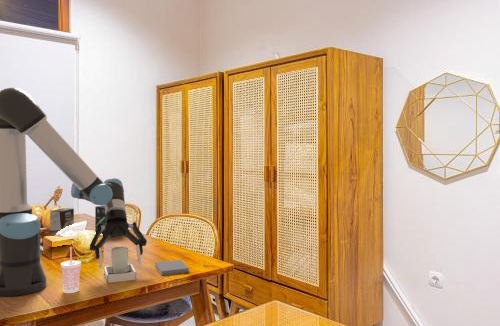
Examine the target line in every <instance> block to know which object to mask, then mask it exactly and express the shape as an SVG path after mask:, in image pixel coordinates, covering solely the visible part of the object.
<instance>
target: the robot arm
mask: <svg viewBox="0 0 500 326" xmlns="http://www.w3.org/2000/svg"><path fill="white" fill-rule="evenodd" d="M47 117H48V116H47V114H46V113H45V112H44V111H43V109H41V107H40V106H39V105H38V103H36V101H35V100H34V99H33V97H32V96H31V95H30V94H29V93H28V92H26V91H24V90H23V89H21V88H17V87H8V88H4V89H2V90H0V297H17V296H18V297H20V296H24V295H30V294H34V293H36V292H39V291H42V290H43V289H45V287H47V277H46V274H45V271H44V268H43V265H42V264H41V227H42V226H41V222H40V218H39V217H38V216H37V215H35V214H33V206H31V205H30V204H29V203H28V191H27V190H28V189H27V187H28V185H27V183H28V182H27V151H26V150H27V149H26V148H27V146H26V144H27V143H26V136H28V138H29V139H30V140H31V141H32V142H33V143H34V144H35V145H36V146H37V147H38V148H39V149H40V150H41V151H42V153H44V155H46V156H47V158H48V159H50V160H51V161H52V162H53V164H54V165H55V166H56V167H57V168H58V169H59V170H60V171H61V172H62V173H63V174H64V175H65V176H66V177H67V178H68V179H69V181H70V182H71V183H72V184H71V187H70V189H71V190H70V195H71V197H72V198H73V199H78V200H85V201H87V202H90V203H92V204H93V205H96V206H103V205H105V214H106V225H105V226H101V224H98V228H97V232H96V234H95V233H94V235H93V238H92V240H91V242H90V244H89V250H90V251H94V253H95V259H96V260H98V262H99V263H98V265H99V269H103V254H102V252H103V251H102V247H103V246H104V245H105V244H106V242H107V241H108V240H109V239H110V238H111V236H112V237H122V236H124V237H125V238H127V239H128V240H129V241H130V242H132V244H134V245H135V246H136V248H135V249H136V251H135V252H136V257H137V265H141V262H142V258H141V257H142V256H141V255H143V253H144V251H143V247H145V246H146V245H147V242H148V241H147V239H146V237H145V236H144V235H143V233H142V232H141V230H140V229H139V227H138V225H137V222H135V221H134V222H132V223H128V218H127V209H126V202H125V190H124V185H123V182H122V181H121V179H119V178H115V177H113V178H107V179H105V181H104V182H103V180H102V179H100V177H99V176H97V174H96V173H95V172H94V171H93V170H92V169H91V167H89V165H88V164H87V163H86V161H84V159H82V158H81V156H80V155H79V154H78V153H77V152H76V151H75V150H74V148H72V147H71V146H70V144H69V143H68V142H67V141H66V140H65V139H64V138H63V137H62V135H60V134H59V132H58V131H57V130H56V129H55V128H54V127H53V125H52V124H51V123H50V122H49V121H48V120H47V119H48V118H47ZM104 229H105V230H106V231H107V233H106V234H105V235H104V236H102V238H100V236H101V235H100V234H101V232H102V231H103V230H104ZM129 229H131V230H132V232H133V233H132V232H131V231H130V230H129ZM99 238H100V239H99ZM98 240H99V242H98Z"/></svg>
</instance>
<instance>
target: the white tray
mask: <svg viewBox="0 0 500 326" xmlns="http://www.w3.org/2000/svg"><path fill="white" fill-rule="evenodd" d="M103 269H104V270H103V272H104V278H105V281H106V283H107V284H109V283H118V282H126V281H134V280H137V271H136V270H135V268H134V265H133V264H132V263H128V273H122V274H113V275H112V265H106V266H104V267H103Z"/></svg>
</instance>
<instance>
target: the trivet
mask: <svg viewBox="0 0 500 326" xmlns="http://www.w3.org/2000/svg"><path fill="white" fill-rule="evenodd" d="M154 266H155V269H156V270H157V271H158V272H159V273H160V275H161V276H166V275H168V276H169V275H175V274H184V273H189V272H190V270H189V269H190V268H189V267H188V266H187V265H186V264H185V263H184V261H182V260H181V259H173V260H165V261H154Z"/></svg>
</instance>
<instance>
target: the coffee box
mask: <svg viewBox="0 0 500 326" xmlns="http://www.w3.org/2000/svg"><path fill="white" fill-rule="evenodd" d="M74 209H75V208H68V207H67V208H65V207H64V208H63V207H62V208H58V209H54V210H50V211H49V237H50V236H55V235H56V233H57V232H58V231H60V230H61V229H63V228H65V227H66V226H69V225H72V224H74V225H75V222H74V221H75V214H74V213H75V210H74Z"/></svg>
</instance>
